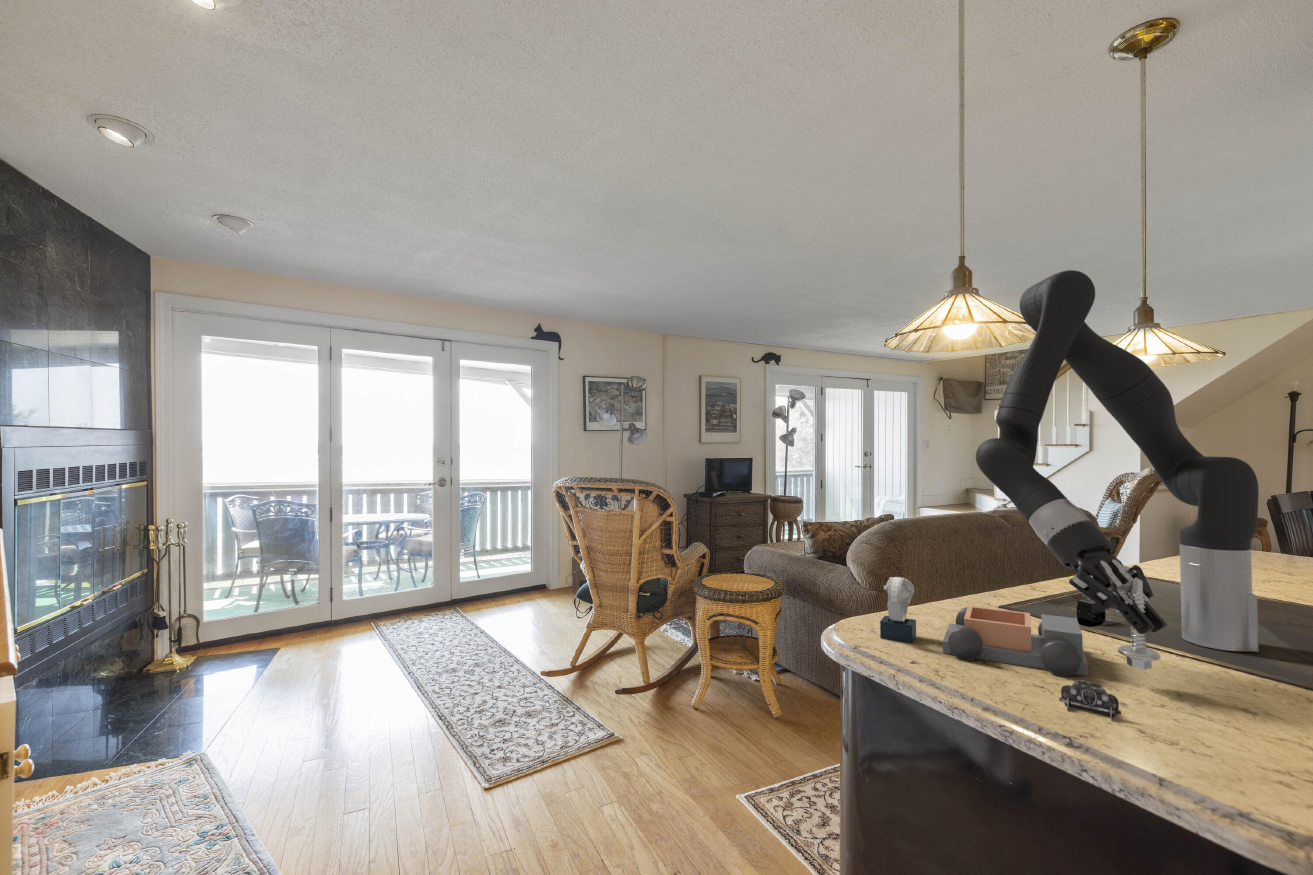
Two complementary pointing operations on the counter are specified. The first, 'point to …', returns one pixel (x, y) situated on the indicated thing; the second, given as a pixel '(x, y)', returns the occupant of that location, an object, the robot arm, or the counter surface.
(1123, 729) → the counter surface
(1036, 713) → the counter surface
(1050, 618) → the toy chassis
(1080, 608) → the black boxy piece
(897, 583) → the bust statue
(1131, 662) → the screw
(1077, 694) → the car cutout
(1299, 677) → the counter surface
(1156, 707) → the counter surface
